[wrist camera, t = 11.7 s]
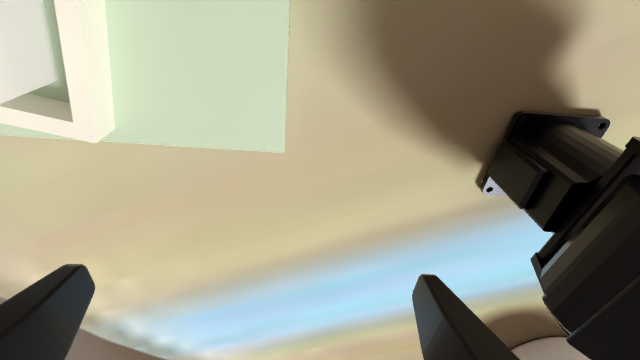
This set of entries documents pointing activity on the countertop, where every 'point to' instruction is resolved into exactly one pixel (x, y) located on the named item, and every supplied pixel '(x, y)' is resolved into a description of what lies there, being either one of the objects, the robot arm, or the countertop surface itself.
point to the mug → (548, 350)
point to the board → (189, 73)
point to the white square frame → (74, 79)
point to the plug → (24, 48)
